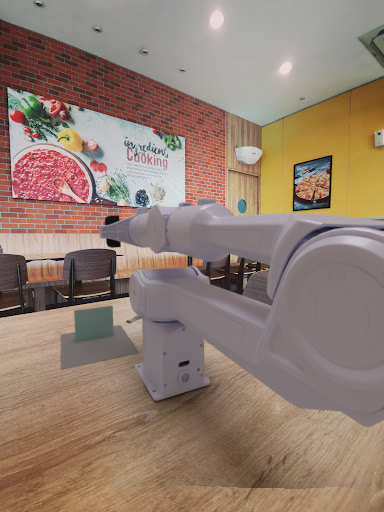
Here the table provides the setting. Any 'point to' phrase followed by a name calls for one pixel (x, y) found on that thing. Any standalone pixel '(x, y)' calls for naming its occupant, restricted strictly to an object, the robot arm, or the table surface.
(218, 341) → the robot arm
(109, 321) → the tile
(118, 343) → the mat
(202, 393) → the table surface
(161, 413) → the table surface
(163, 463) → the table surface
